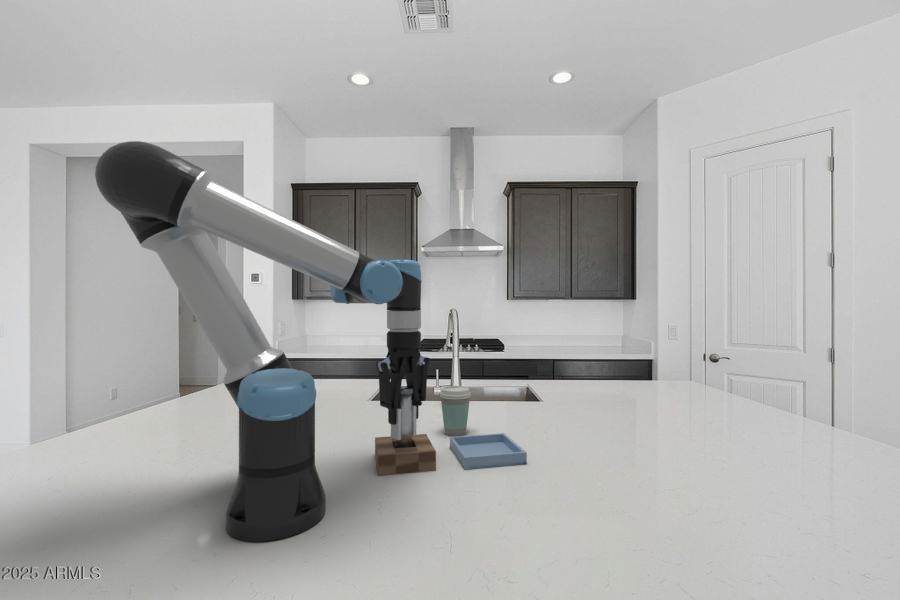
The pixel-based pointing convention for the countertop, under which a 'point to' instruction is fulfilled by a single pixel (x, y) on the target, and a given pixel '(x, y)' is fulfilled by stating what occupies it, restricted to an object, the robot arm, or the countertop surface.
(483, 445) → the tray
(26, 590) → the countertop surface
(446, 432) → the coffee cup
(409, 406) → the pin
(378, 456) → the socket block
